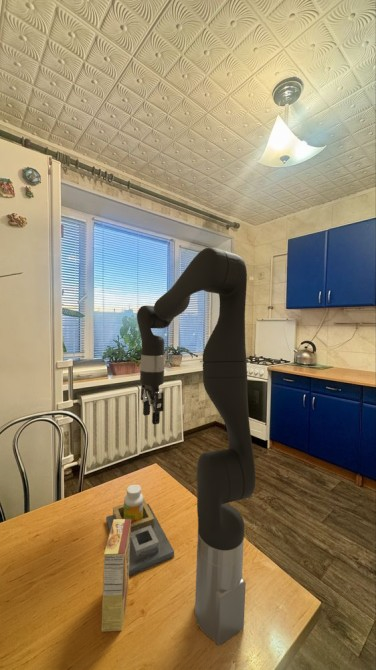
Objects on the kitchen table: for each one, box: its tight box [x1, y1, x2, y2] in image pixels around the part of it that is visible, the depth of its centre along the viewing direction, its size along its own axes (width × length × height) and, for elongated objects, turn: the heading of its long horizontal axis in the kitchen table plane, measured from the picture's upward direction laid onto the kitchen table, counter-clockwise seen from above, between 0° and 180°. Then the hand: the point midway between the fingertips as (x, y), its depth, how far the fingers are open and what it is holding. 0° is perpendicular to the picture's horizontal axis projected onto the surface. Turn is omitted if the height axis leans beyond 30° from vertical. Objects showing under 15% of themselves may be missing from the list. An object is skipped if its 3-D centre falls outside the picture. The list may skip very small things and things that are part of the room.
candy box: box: [101, 519, 131, 633], centre depth 52 cm, size 9×4×15 cm, turn 6°
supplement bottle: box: [123, 484, 144, 523], centre depth 73 cm, size 5×5×10 cm
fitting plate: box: [105, 497, 175, 578], centre depth 69 cm, size 19×13×4 cm
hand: (150, 419), depth 82 cm, fingers open, 8 cm apart
